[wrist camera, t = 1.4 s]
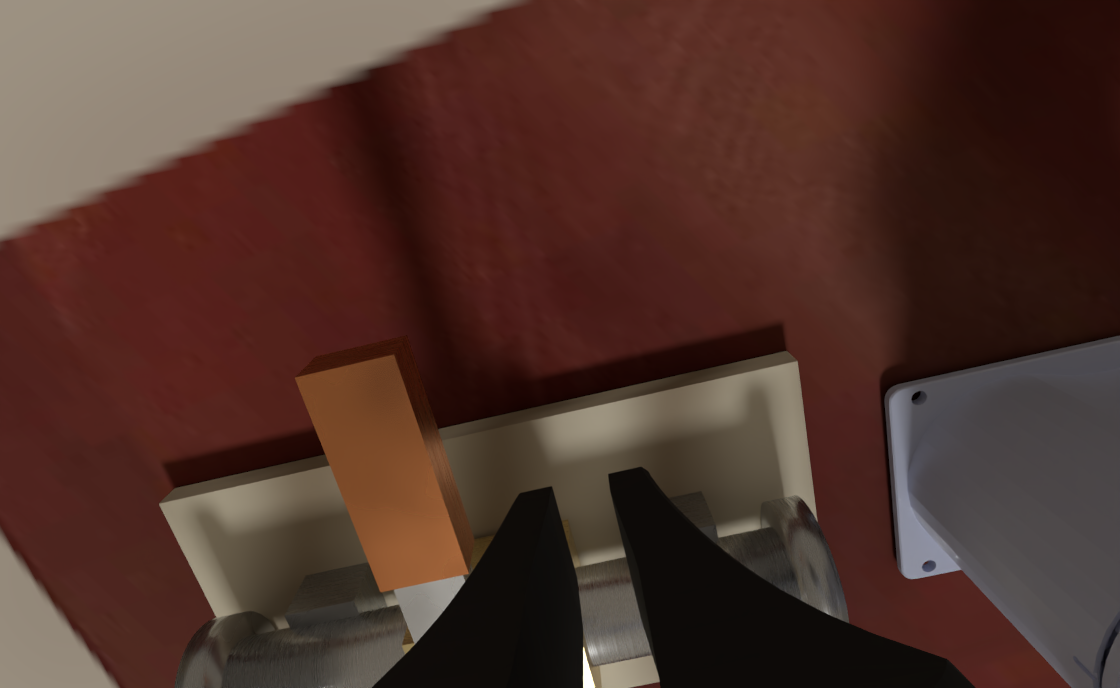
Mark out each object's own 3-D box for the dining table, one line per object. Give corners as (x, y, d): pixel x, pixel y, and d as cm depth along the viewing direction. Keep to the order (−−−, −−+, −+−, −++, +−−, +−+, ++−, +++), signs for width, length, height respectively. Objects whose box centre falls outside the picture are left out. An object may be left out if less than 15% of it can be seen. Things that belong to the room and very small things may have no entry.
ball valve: (780, 466, 22) (867, 592, 16) (795, 574, 23) (880, 727, 18) (228, 584, 23) (118, 743, 17) (276, 680, 25) (189, 858, 19)
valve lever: (557, 766, 17) (557, 810, 16) (471, 782, 18) (466, 827, 16) (415, 332, 13) (404, 352, 12) (306, 358, 14) (284, 380, 12)
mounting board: (786, 350, 22) (797, 361, 21) (822, 627, 26) (832, 647, 25) (174, 488, 23) (158, 503, 22) (295, 732, 27) (286, 755, 26)
